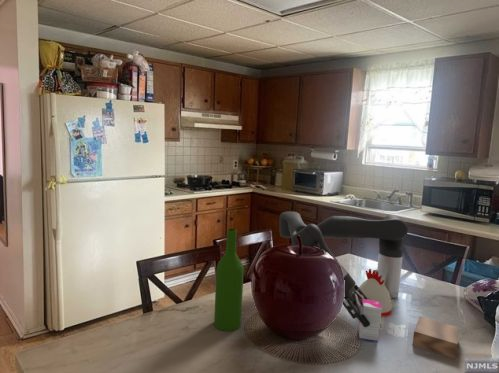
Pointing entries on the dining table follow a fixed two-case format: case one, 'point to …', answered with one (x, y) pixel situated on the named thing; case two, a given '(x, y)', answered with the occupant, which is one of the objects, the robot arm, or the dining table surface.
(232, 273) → the wine bottle
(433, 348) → the walnut block
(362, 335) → the supplement box
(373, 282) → the kitchen timer
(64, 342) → the dining table surface
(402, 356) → the dining table surface
